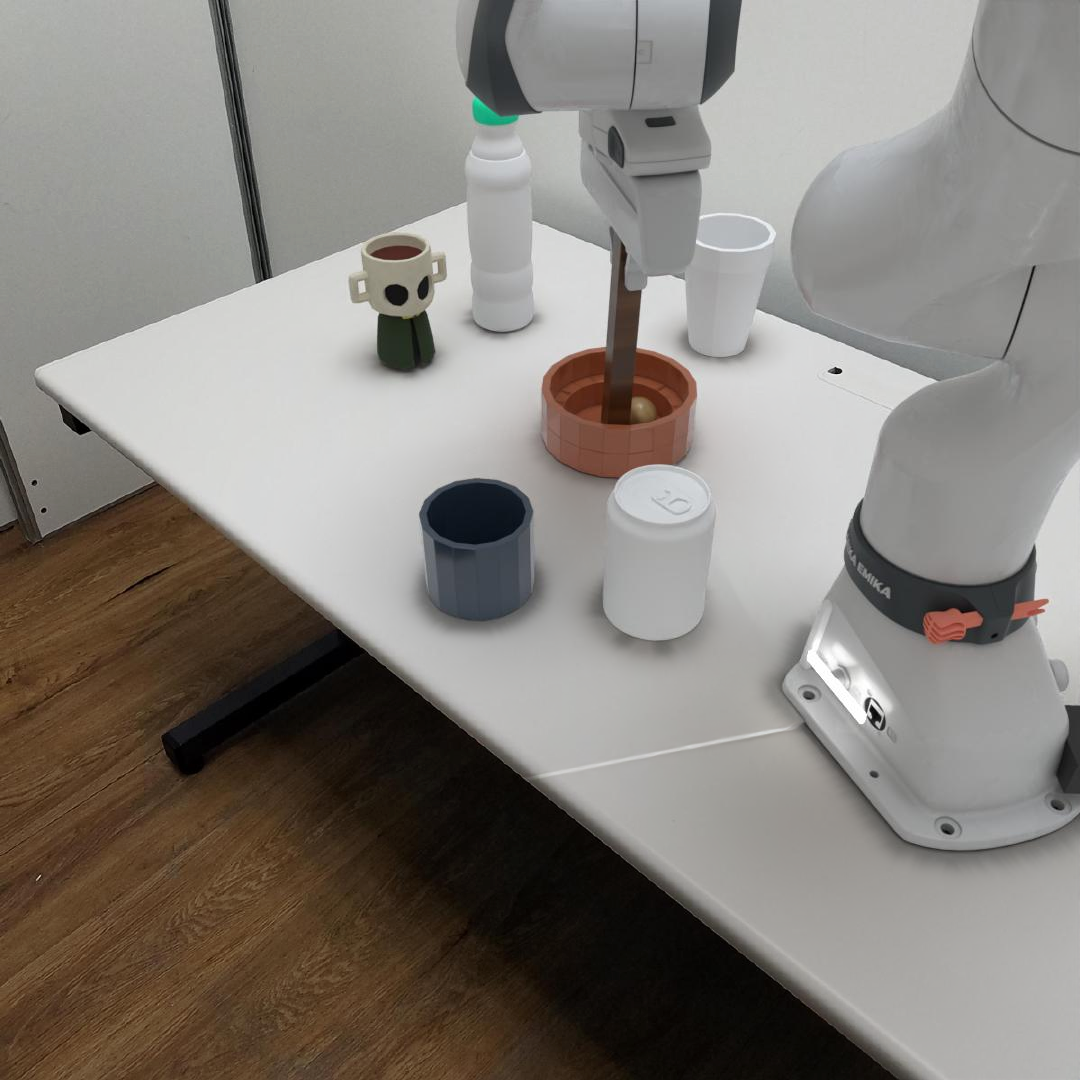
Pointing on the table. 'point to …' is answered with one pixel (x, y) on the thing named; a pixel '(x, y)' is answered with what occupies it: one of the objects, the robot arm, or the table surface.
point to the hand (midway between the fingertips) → (628, 277)
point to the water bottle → (499, 223)
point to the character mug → (400, 294)
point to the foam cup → (726, 281)
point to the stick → (620, 343)
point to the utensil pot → (478, 548)
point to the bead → (642, 411)
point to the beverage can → (657, 551)
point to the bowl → (611, 447)
